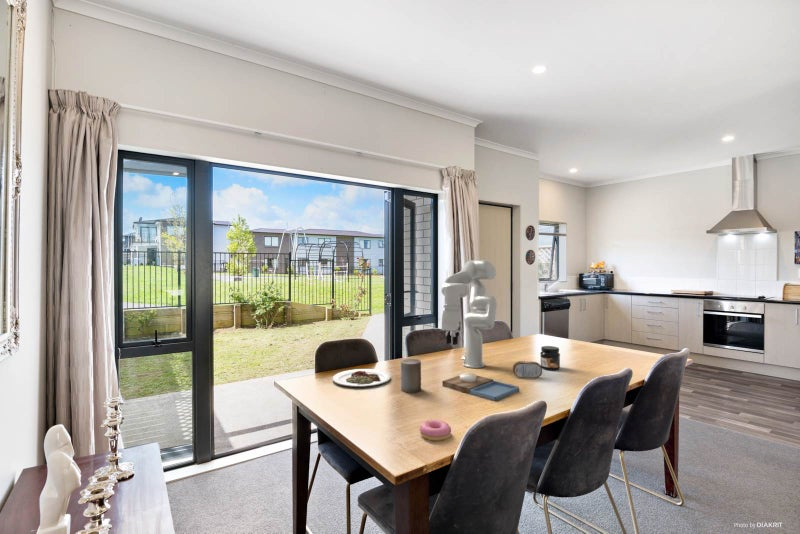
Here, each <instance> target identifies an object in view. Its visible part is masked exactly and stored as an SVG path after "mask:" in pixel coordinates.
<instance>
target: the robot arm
mask: <svg viewBox="0 0 800 534" xmlns="http://www.w3.org/2000/svg"><path fill="white" fill-rule="evenodd" d="M496 275H497V271H496V267H495V265H493V264H492V263H491V262H490V261H488V260H486V259H472V260H471V259H470V260H467V261H466V262H465V264H464V265H463V267H462V268H461V270H460V271H459V272H457V273H454V274H452V275H450V276H447V278H446V279H445V281H444V282H443V283H442V286H441V294H442V295H443V297H444V305H443V309H444V310H442V311H443V312H442V316H441V330H442V331H443V332H444V334H445V337H446V344H447V345H449V344H452V345H453V346H455V345H458V344H459V343H458V340H459V339H458V338H459V335H461V334H463V332H464V330H463V326H462V325H463V324H462V323H463V322H462V314H461V310H460V298H465V297H467V296H468V294H469V292H470V295H469V296H470V298H469V301H468V302H469V303H468V304H469V309H470V310H471V311H468V312H467V313H465V315H464V318H463V320H464V327H465V356H464V355H463V356H461V359H460V360H461V361H464V362H463V366H464V367H465V368H470V369H481V368H484V367H486V363H484V362H483V334H482V332H481V331H480V329H481V330H493V328H494V327H495V322H496V321H495V320H496V315H497V313H496V312H497V306H498V305H497V298H496V297H495V296H494V295H491V294H490V295H488V294H486V289H487V288H486V285H484V283H483V281H482V280H488V281H489V280H494V279H495V277H496ZM468 284H470V288H469V286H468ZM470 289H471V290H470ZM451 332H452V333H453V334H452V333H451ZM451 334H452V335H453V337H452V335H451Z"/></svg>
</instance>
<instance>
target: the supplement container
mask: <svg viewBox="0 0 800 534" xmlns="http://www.w3.org/2000/svg"><path fill="white" fill-rule="evenodd" d="M540 349H541V350H540V353H539V355H540V366H541V367H542V370H545V371H553V372H554V371H559V370H560V369H561V361H560V360H561V353H560V347H558V346H553V345H544V346H541V348H540Z"/></svg>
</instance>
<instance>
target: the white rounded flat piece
mask: <svg viewBox="0 0 800 534" xmlns="http://www.w3.org/2000/svg"><path fill="white" fill-rule="evenodd" d="M459 376H460V381H462V382H466V383H472V382H476V373H471V372H464V373H463V372H462V373H460V374H459Z"/></svg>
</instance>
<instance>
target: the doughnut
mask: <svg viewBox="0 0 800 534" xmlns="http://www.w3.org/2000/svg"><path fill="white" fill-rule="evenodd" d="M419 432H420V434H421V436H422V437H423V438H424V439H426V440H429V441H435V442H439V441H444V440H447V439H448V438H450V436H451V433H452V428H451V426H450V425H449V423H447V422H445V421H443V420H439V419H431V420H427V421H424V422H423V423H422V424H421V425H420V427H419Z"/></svg>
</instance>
